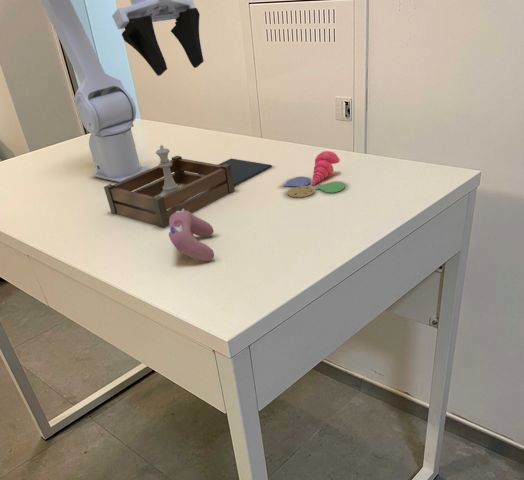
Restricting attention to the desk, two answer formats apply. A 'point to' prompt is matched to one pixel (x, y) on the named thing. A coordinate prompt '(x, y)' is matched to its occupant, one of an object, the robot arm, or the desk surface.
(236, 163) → the mat
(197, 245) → the video game controller
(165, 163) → the chess piece
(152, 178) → the crate
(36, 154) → the desk surface
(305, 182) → the toy pieces
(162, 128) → the desk surface
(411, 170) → the desk surface
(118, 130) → the robot arm
